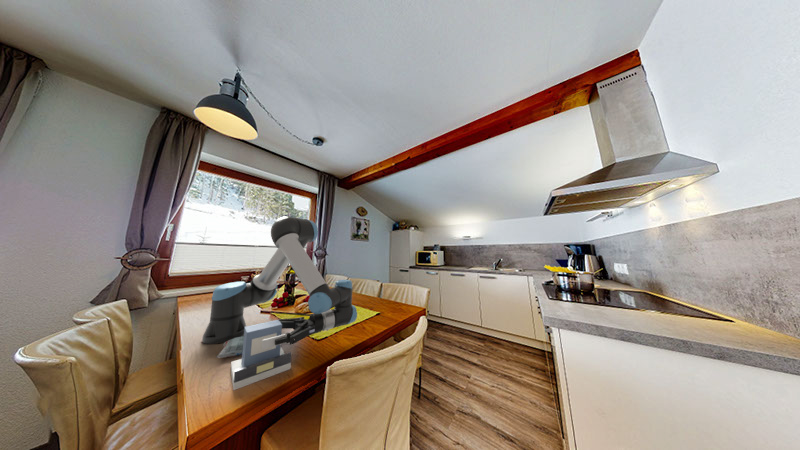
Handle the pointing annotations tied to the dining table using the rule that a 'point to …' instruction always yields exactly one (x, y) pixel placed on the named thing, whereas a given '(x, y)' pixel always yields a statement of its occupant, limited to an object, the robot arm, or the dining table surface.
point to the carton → (260, 342)
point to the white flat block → (259, 369)
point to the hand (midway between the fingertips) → (258, 337)
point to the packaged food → (232, 347)
